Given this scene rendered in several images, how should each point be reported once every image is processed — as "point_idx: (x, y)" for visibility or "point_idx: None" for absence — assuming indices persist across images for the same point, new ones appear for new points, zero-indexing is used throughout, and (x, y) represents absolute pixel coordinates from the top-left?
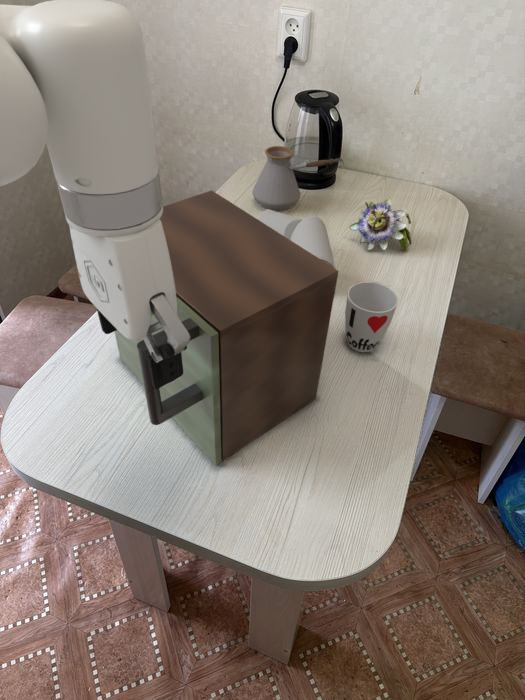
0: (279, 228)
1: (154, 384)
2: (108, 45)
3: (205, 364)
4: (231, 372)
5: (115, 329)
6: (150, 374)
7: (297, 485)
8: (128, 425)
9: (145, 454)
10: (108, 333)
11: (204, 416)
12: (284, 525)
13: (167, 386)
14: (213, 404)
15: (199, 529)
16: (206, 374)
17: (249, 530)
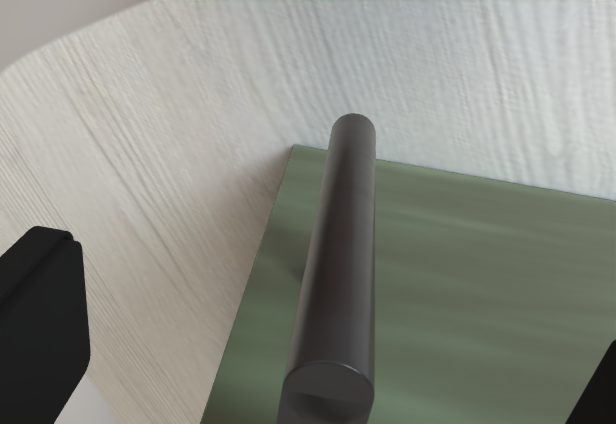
0: None
1: (18, 243)
2: None
3: (255, 385)
4: None
5: (596, 383)
6: (6, 287)
7: (148, 209)
8: (548, 91)
9: (446, 60)
10: (613, 344)
11: (313, 223)
12: (100, 131)
13: (491, 233)
14: (252, 269)
15: (203, 7)
16: (261, 349)
17: (133, 78)
